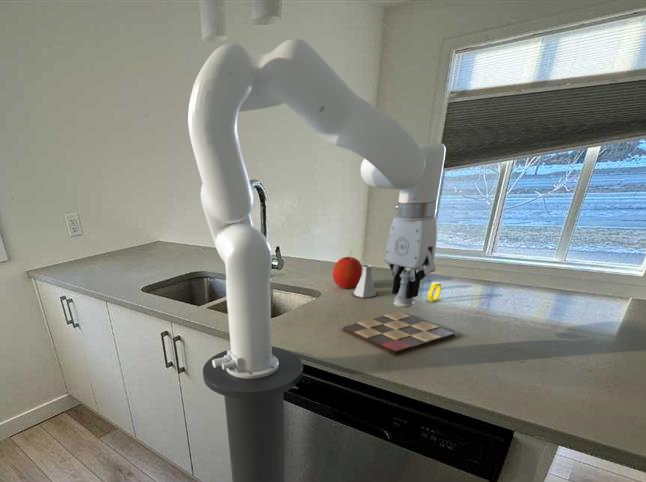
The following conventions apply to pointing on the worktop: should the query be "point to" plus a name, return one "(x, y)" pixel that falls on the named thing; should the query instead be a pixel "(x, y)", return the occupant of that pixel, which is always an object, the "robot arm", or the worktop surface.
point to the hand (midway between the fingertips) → (404, 294)
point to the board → (398, 332)
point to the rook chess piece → (403, 292)
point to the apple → (347, 272)
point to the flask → (365, 283)
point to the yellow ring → (431, 290)
